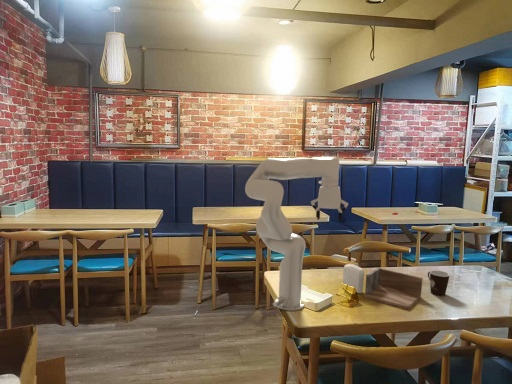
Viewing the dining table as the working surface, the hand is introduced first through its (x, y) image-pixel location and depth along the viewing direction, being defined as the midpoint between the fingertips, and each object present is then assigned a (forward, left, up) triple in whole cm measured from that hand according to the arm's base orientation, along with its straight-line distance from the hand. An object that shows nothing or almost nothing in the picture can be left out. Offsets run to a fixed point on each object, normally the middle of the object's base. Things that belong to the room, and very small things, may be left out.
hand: (328, 219), depth 188 cm
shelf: (+12, -28, -34) cm, 46 cm away
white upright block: (+8, -10, -34) cm, 37 cm away
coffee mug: (+33, -42, -34) cm, 64 cm away
